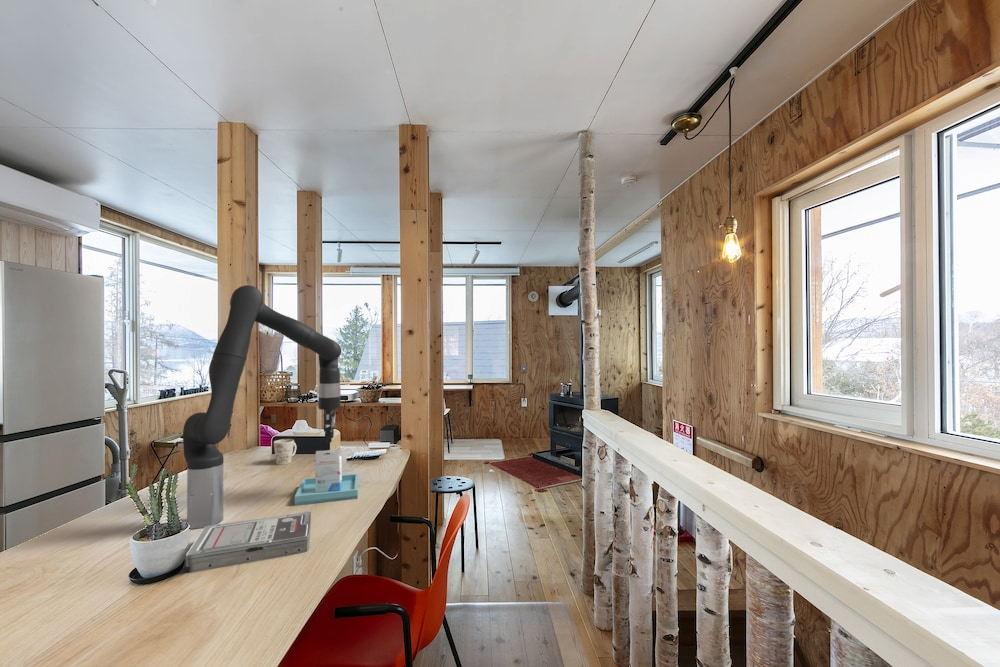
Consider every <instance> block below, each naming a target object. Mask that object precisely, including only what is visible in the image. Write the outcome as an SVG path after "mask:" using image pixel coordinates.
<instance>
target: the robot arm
mask: <svg viewBox="0 0 1000 667" xmlns="http://www.w3.org/2000/svg"><path fill="white" fill-rule="evenodd" d="M229 305H230V306H229V307H230V308H229V312H228V313H229V314H228V318H227V321H226V323H225V324H226V325H225V327H224V329H223V331H222V333H221V335H220V337H219V339H218V341H217V343H216V346H215V348H214V350H213V353H212V357H211V360H210V364H209V367H208V377H209V383H210V388H211V390H210V391H211V392H210V393H211V395H210V401H209V404H208V406H207V410H206V412H196V413H193V414H192V415H190V416H188V417H187V419H186V420H185V422H184V425H183V428H182V429H183V430H182V441H183V442H182V444H183V446H182V447H183V457H184V460H185V462H186V467H187V468H186V469H187V471H186V474H187V475H186V476H187V477H186V482H187V483H186V519H187V520H186V523H187V522H188V524H189V525H190V529H189V530H192V529H199V528H204V527H206V526H210V525H216V524H220V522H222V521H223V520H224V467H225V465H224V459H225V458H224V454H223V453H222V452H221V451H220V450H219V449H218V448H217V446H216V445H217V444H219V443H221V442H222V441H223V440H224V439H225V438H226V437H227V435H228V433H229V430H230V427H231V423H232V418H233V416H232V415H233V411H234V405H235V400H236V396H237V392H238V388H239V385H240V381H241V378H242V374H243V371H244V368H245V365H246V363H247V362H246V361H247V358H248V353H249V349H250V343H251V336H252V331H253V327H254V325H255V322H256V323H258V324H261V325H263V326H265V327H267V328H269V329H271V330H273V331H274V332H277V333H279V334H281V335H282V336H284V337H285V338H288V339H289V340H290V341H292V342H294V343H296V344H298V345H300V346H301V347H303V348H306V349H309V350H311V351H312V352H314V353H316V354H317V355H318V364H319V374H318V375H319V380H318V382H319V383H318V385H319V386H318V407H317V408H318V410H323V411H325V413H323V414H322V415H323V416H322V418H323V421H322V422H323V432H324V443H325V444H328V443H332V439H333V438H334V436H335V435H334V433H335V432H334V431H335V430H334V429H335V425H336V415H337V414H336V413H335V412H336V410H338V409H340V408H341V395H342V394H341V393H342V392H341V391H342V390H341V389H342V388H341V370H340V368H339V357H340V356H341V354H342V347H341V345H340V344H339V343H338V342H337V341H335V340H333V339H331V338H330V337H328V336H325V335H323V334H321V333H319V331H316V330H315V329H313V328H311V327H310V326H309V325H308V324H305V323H303V322H302V321H299V320H297V319H295V318H293V317H290V316H287V315H284V314H282V313H280V312H278V311H276V310H274V309H272V308H271V307H270V306H268V305H266V304H265V303H264V297H263V294H262V292H261V291H260V290H259V289H258V288H257V287H256V286H253V285H247V284H245V285H242V286H239V287H238V288H236V289H235V290H234V291H233V292H232V295H231V297H230V300H229Z"/></svg>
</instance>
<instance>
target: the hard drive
mask: <svg viewBox="0 0 1000 667" xmlns="http://www.w3.org/2000/svg"><path fill="white" fill-rule="evenodd" d="M311 528H312V511H302V512H296V513H287V514H281V515H273V516H267V517H261V518H260V517H259V518H251V519H247V520H245V519H244V520H240V521H231V522H226V523H216V524H214V525H210V526H206V527H203V528H202V530H201V532H200V533H199V534H198V536H197V537H196V539H195V541H194V542H193V544H192V545H191V547H190V548H189V550H188V551H187V552H186V554H185V555H186V556H185V566H184V570H183V571H184V574H188V573H194V572H200V571H205V570H212V569H217V568H222V567H229V566H234V565H241V564H247V563H251V562H252V563H253V562H257V561H263V560H269V559H274V558H280V557H287V556H292V555H298V554H303V553H308V552H309V550H310V539H311Z"/></svg>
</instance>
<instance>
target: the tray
mask: <svg viewBox="0 0 1000 667" xmlns="http://www.w3.org/2000/svg"><path fill="white" fill-rule="evenodd" d="M358 493H359V473H352V474H351V473H350V474H349V473H347V474H342V487H341V489H340V490H339V491H327V492H316V489H315V477H309V478H307V477H306V478H302V480H301V482H300V485H299V487H298V489H297V490H296V493H295V495H294V506H302V505H303V506H305V505H314V504H320V503H322V504H323V503H328V502H329V503H330V502H331V503H332V502H339V501H348V500H355V499H356V500H357V499H358Z"/></svg>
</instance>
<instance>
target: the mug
mask: <svg viewBox="0 0 1000 667" xmlns="http://www.w3.org/2000/svg"><path fill="white" fill-rule="evenodd" d="M297 447H298V446H297V444H296V442H295V439H293V438H283V439H278V440H274V441H273V448H274V449H273V450H274V455H275V461H276V464H277V465H288V464H291V463H292V459H293V457H294V456H295V455H296V451H297Z"/></svg>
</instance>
